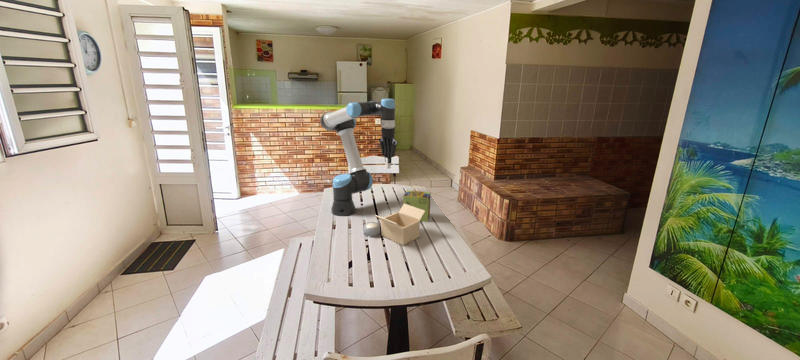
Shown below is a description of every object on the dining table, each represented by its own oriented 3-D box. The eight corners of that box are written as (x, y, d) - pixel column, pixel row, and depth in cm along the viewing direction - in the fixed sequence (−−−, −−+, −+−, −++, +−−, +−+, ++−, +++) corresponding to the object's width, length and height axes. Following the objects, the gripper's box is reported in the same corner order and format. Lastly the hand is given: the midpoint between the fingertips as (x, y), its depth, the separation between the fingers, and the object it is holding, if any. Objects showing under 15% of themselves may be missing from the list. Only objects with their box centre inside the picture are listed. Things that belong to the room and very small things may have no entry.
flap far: (419, 219, 183) (420, 220, 183) (425, 210, 185) (425, 211, 185) (398, 212, 192) (399, 212, 193) (404, 203, 194) (404, 203, 195)
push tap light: (360, 233, 189) (360, 225, 187) (372, 228, 195) (372, 220, 194) (371, 238, 183) (371, 230, 181) (383, 233, 189) (383, 225, 188)
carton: (380, 235, 186) (380, 218, 183) (396, 228, 196) (397, 211, 193) (404, 246, 176) (404, 228, 173) (420, 237, 185) (420, 220, 182)
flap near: (381, 219, 183) (380, 220, 182) (375, 214, 178) (374, 215, 178) (402, 228, 173) (402, 228, 173) (396, 223, 169) (396, 223, 168)
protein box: (428, 222, 204) (428, 197, 199) (402, 219, 207) (403, 195, 202) (430, 215, 214) (431, 192, 209) (405, 213, 217) (406, 190, 212)
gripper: (375, 126, 191) (375, 167, 198) (391, 129, 182) (391, 171, 190) (384, 125, 196) (384, 165, 203) (401, 127, 188) (400, 169, 195)
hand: (388, 168), depth 196 cm, fingers closed
